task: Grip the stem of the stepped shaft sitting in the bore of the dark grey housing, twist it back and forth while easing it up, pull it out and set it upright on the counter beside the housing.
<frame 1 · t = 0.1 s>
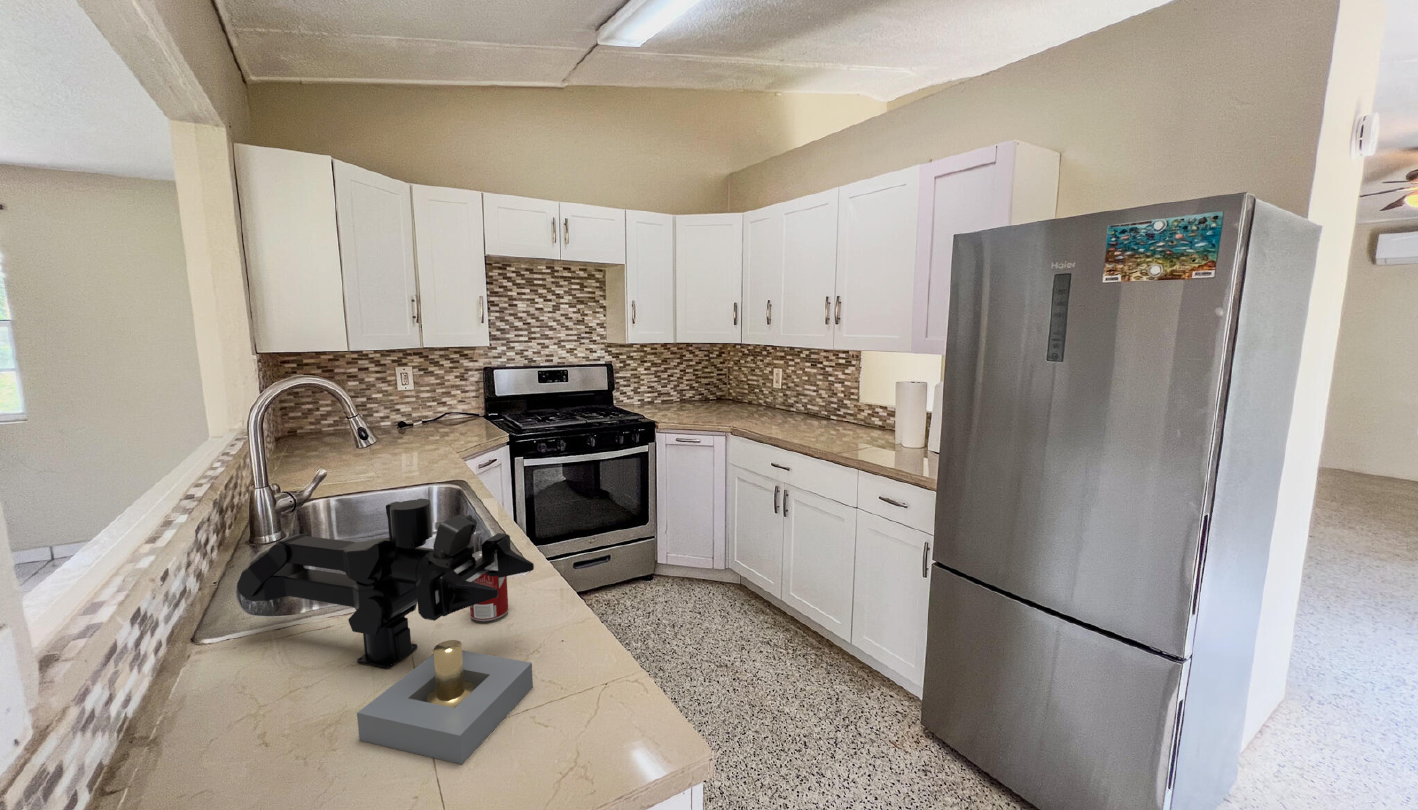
hand: (516, 579, 86), 17 cm above the counter, tool horizontal, fingers open, 9 cm apart
stepped shaft: (452, 712, 81), resting in housing
soda can: (489, 616, 108), on the counter
housing: (452, 711, 81), on the counter
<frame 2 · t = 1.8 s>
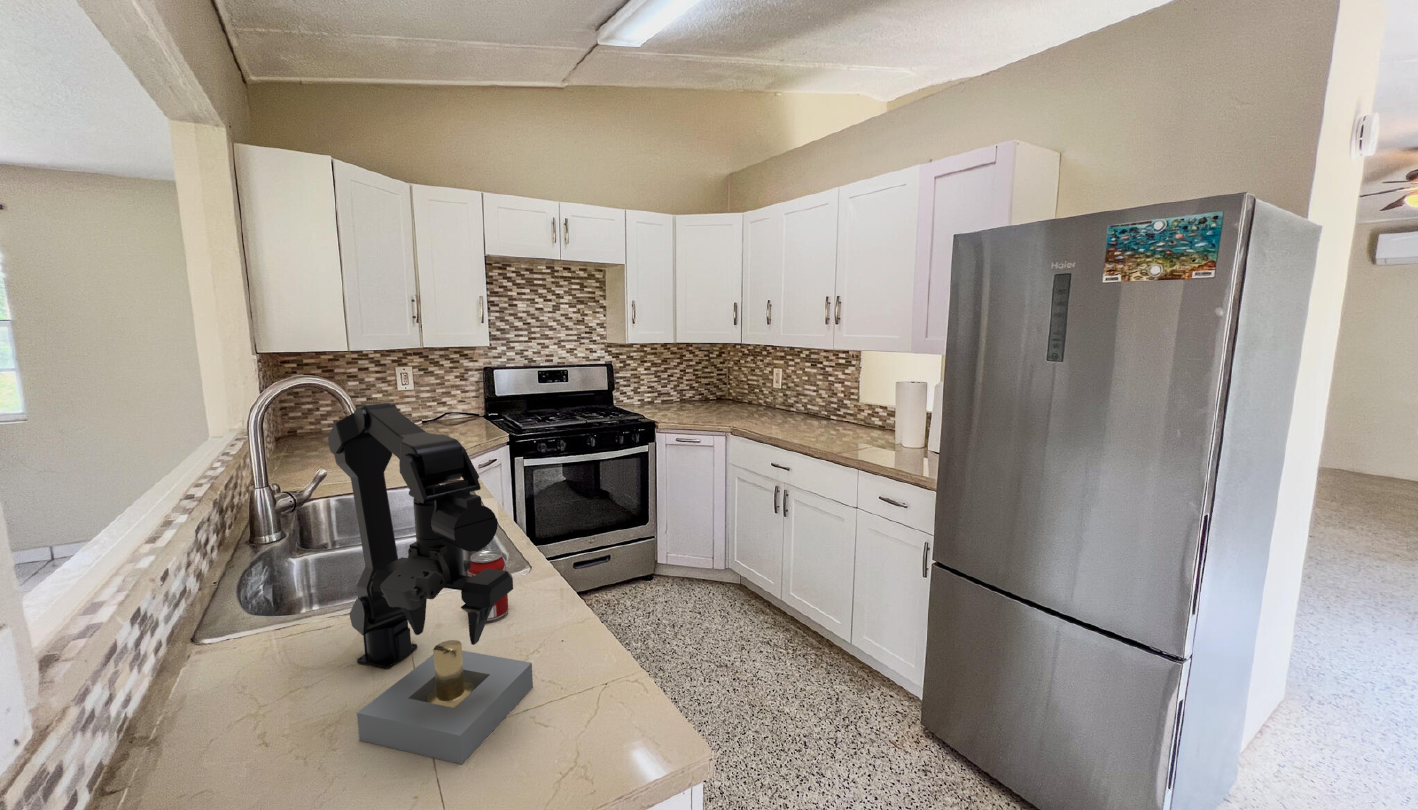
hand: (446, 638, 80), 11 cm above the counter, tool pointing down, fingers open, 9 cm apart
nothing on the counter moved.
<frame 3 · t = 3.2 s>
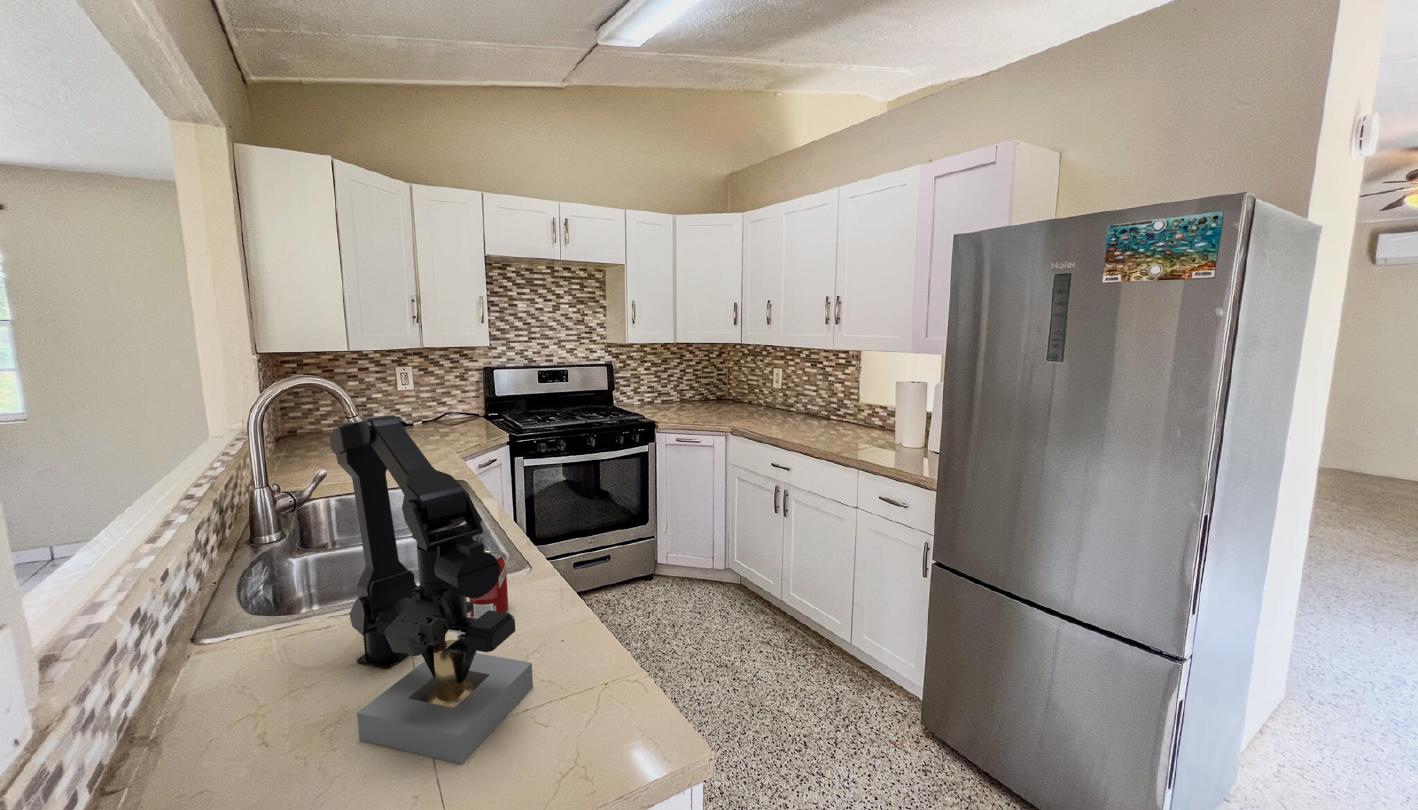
hand: (449, 679, 81), 5 cm above the counter, tool pointing down, fingers closed on stepped shaft, 4 cm apart
stepped shaft: (451, 712, 81), resting in housing, touching gripper
everything else where it was.
when the fingers open (6 cm above the counter, at t = 8.9 s): stepped shaft drops 1 cm, on the counter.
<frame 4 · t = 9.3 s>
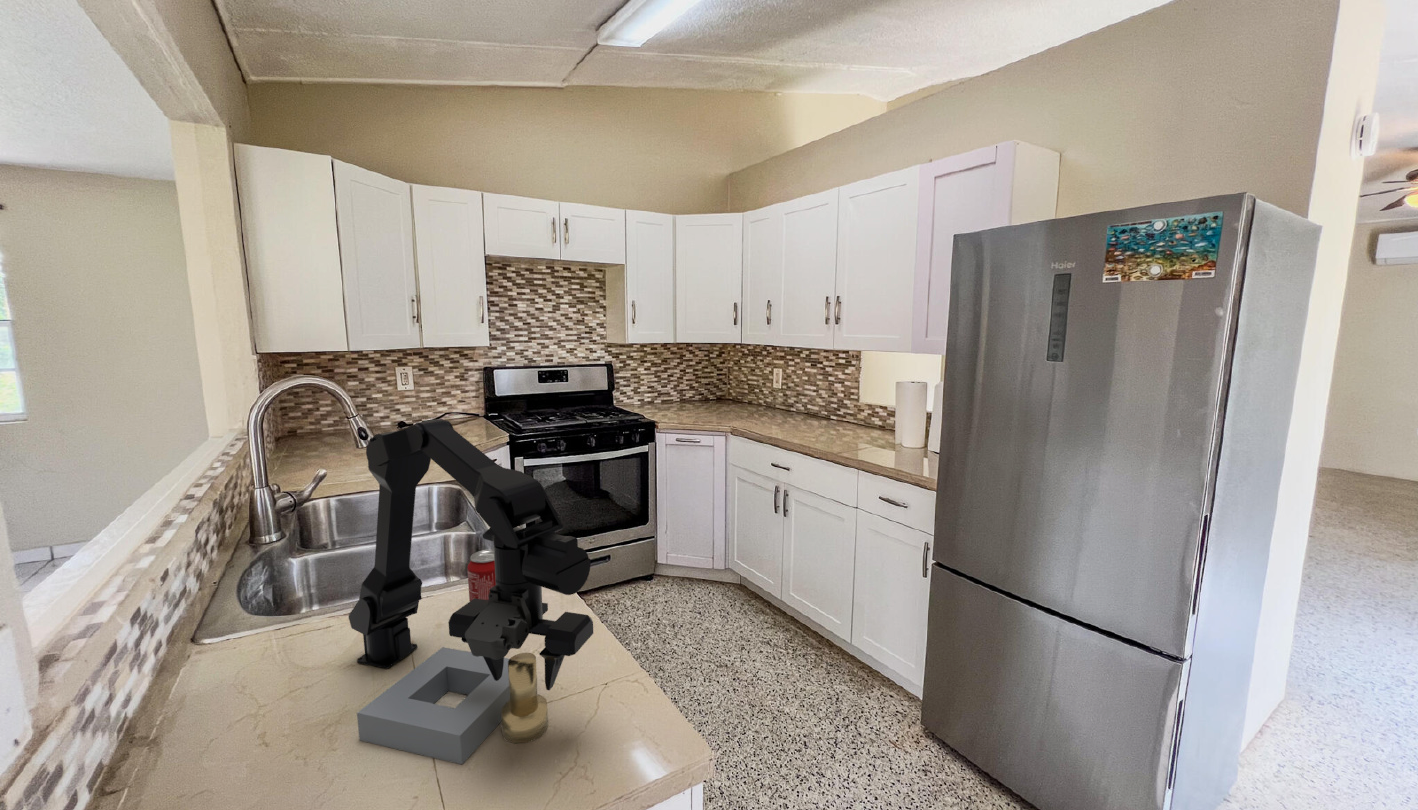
hand: (523, 683, 77), 6 cm above the counter, tool pointing down, fingers open, 8 cm apart
stepped shaft: (525, 727, 78), on the counter
everything else where it was.
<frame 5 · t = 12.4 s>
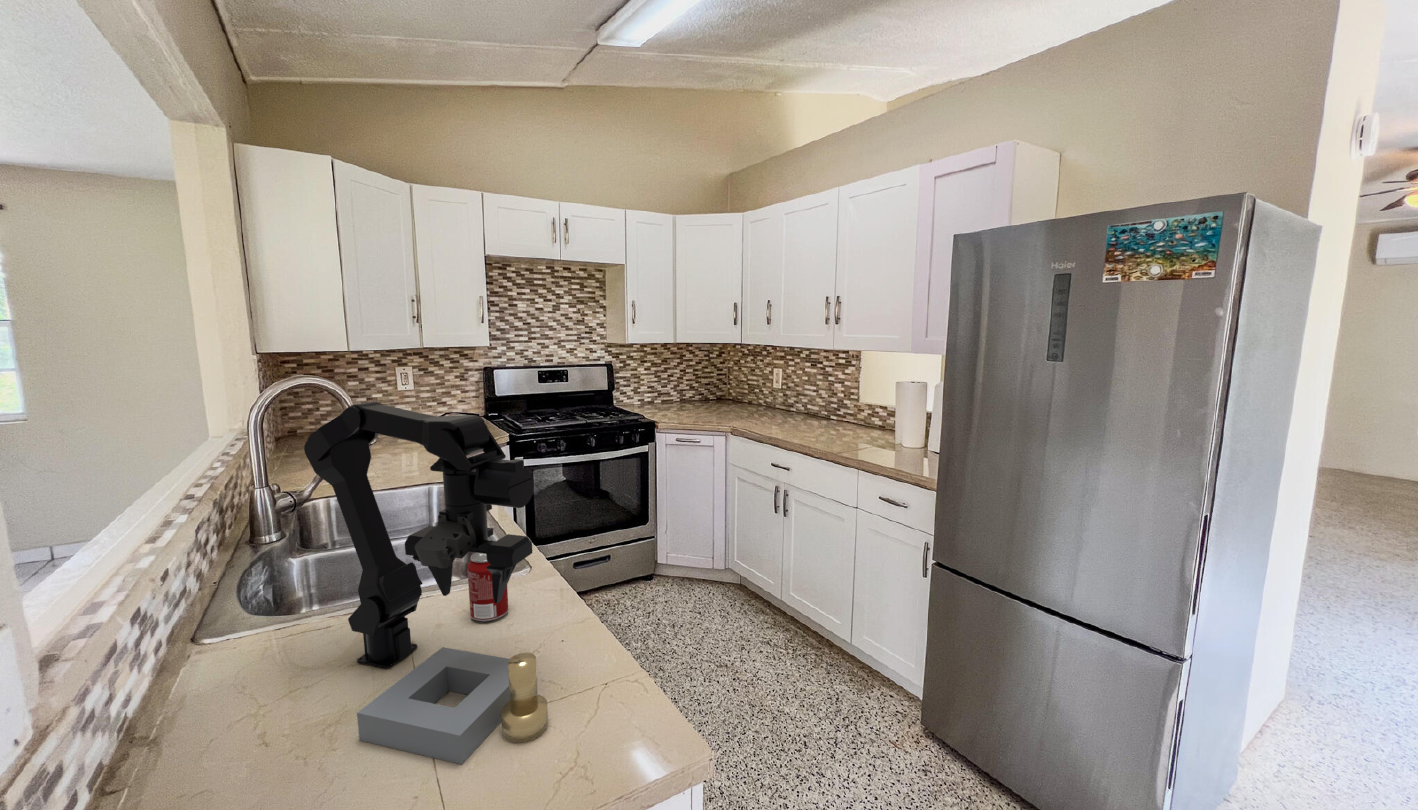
hand: (471, 598, 88), 13 cm above the counter, tool pointing down, fingers open, 9 cm apart
nothing on the counter moved.
at the end: stepped shaft inside the target area (0.1 cm from its centre), on the counter; stepped shaft tilted 0°; the gripper is holding nothing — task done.
